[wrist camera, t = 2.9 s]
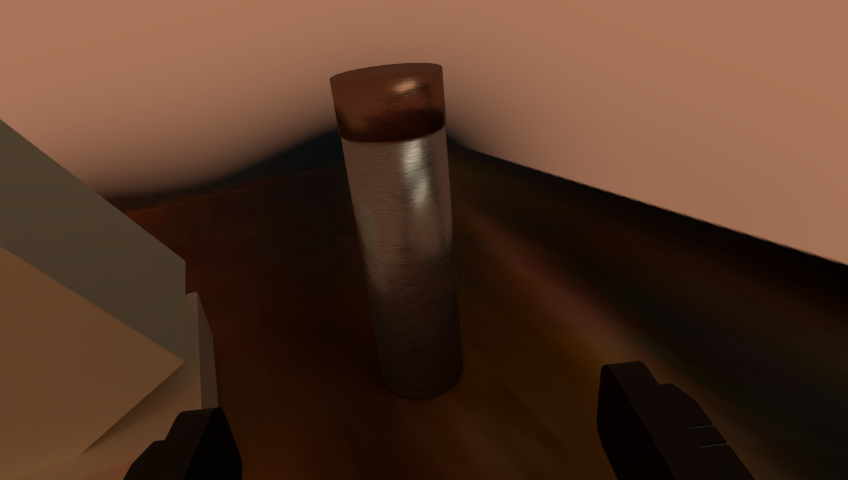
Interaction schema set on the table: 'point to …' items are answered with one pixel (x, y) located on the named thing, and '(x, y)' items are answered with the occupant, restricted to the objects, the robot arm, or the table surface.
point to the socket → (88, 328)
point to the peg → (404, 219)
